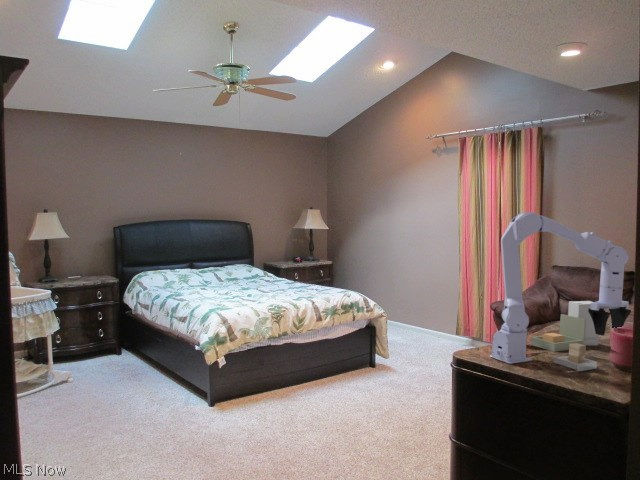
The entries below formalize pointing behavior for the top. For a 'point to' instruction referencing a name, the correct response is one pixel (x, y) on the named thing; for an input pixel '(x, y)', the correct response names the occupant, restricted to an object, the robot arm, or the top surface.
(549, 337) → the block
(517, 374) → the top surface
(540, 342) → the case
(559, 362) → the bracket
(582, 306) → the skincare box
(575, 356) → the beige tall block
